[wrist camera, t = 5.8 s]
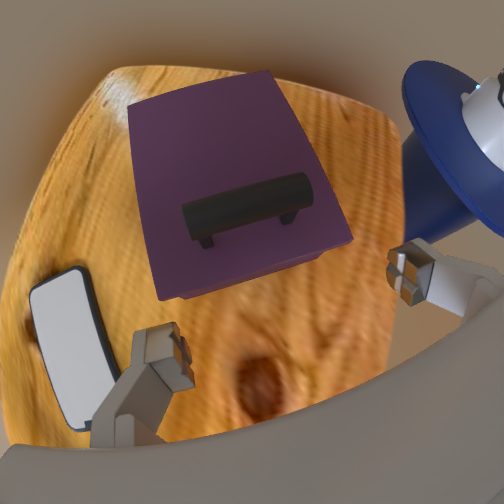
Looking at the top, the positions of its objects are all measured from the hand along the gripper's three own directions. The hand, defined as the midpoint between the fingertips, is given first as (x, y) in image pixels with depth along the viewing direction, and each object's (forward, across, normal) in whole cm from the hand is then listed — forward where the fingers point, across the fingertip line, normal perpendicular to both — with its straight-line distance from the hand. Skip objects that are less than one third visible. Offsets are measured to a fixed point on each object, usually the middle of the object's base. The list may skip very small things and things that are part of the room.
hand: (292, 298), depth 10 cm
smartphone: (+12, +19, +10) cm, 24 cm away
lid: (+13, 0, -2) cm, 13 cm away
